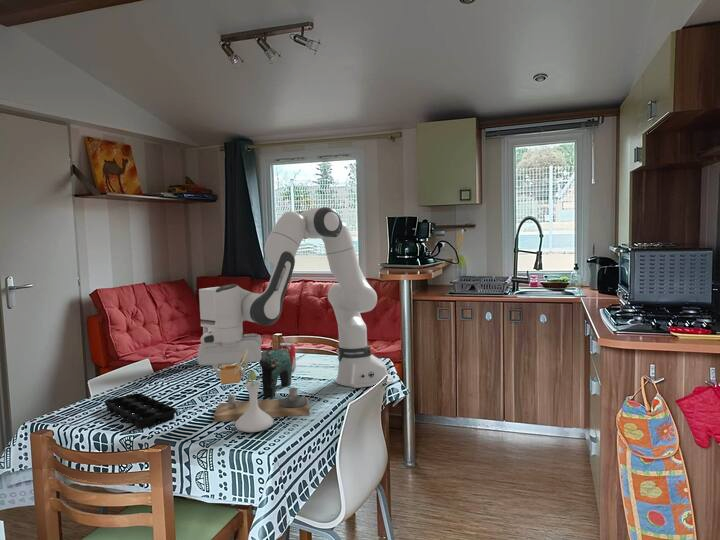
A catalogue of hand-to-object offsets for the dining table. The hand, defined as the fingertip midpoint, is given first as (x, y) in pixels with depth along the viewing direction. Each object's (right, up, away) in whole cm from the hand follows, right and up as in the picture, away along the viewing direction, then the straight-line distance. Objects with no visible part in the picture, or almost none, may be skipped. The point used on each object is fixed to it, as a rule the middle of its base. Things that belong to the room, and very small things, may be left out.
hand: (231, 376), depth 168 cm
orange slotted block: (0, -1, 0) cm, 1 cm away
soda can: (+11, -9, +53) cm, 55 cm away
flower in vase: (+10, -13, -13) cm, 21 cm away
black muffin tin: (-31, -14, +3) cm, 34 cm away
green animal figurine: (+11, -11, +24) cm, 29 cm away
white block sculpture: (-23, -9, +69) cm, 73 cm away
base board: (+10, -12, +2) cm, 16 cm away
